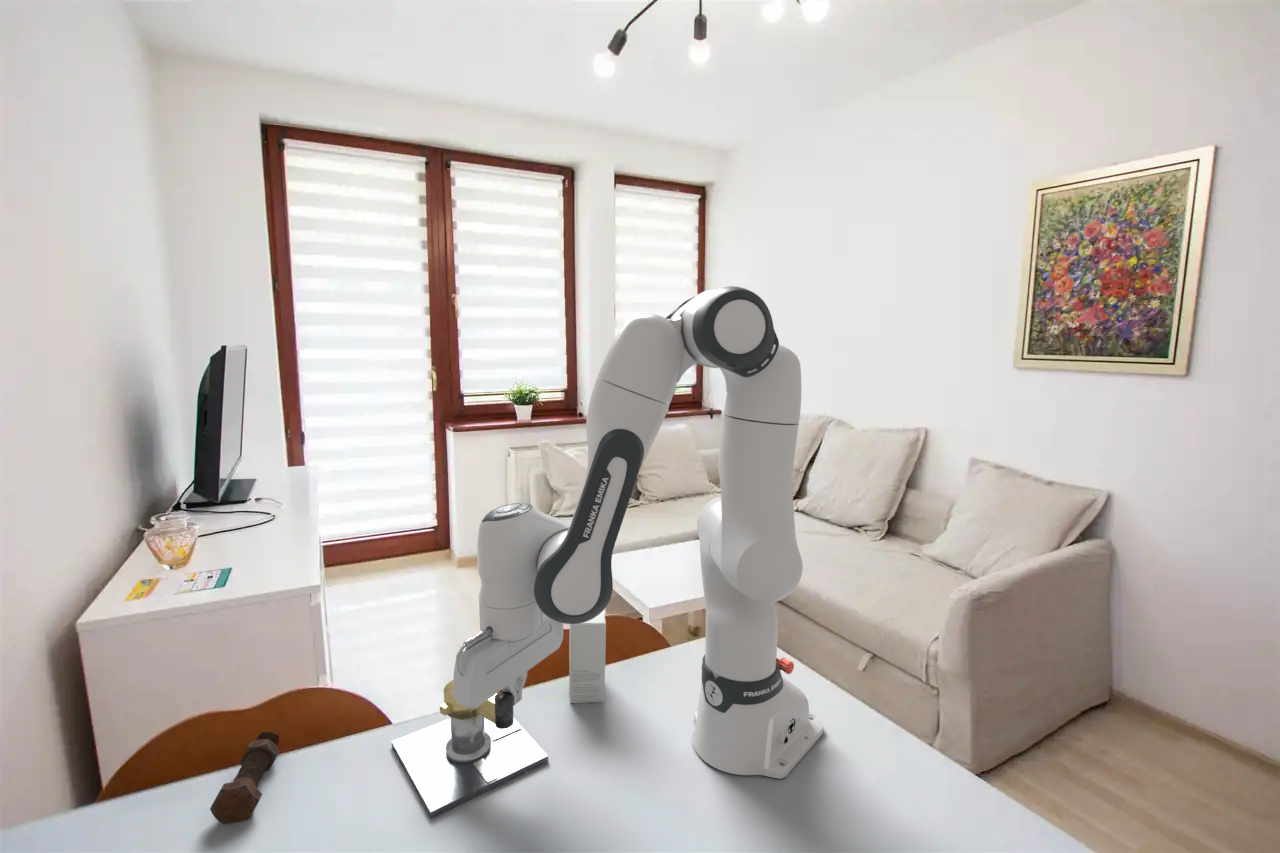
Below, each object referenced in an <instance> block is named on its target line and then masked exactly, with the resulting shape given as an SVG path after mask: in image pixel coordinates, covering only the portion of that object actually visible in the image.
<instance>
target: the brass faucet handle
mask: <svg viewBox="0 0 1280 853" xmlns="http://www.w3.org/2000/svg"><path fill="white" fill-rule="evenodd" d="M439 713H440V714H441V715H443V716H448V717H449V718H450V717H452V718H457V719H465V718H471V717H474V716H477V715H481V716H482V717H484V718H486V719H488V720H489V721H491V722H493V723H495V725H496V727H497V728H499V729H506V728H509V727H511V726H512V725H513V723H514V718H515V717H514V706H513V694H512V693H509V692H506V691H503V690H502V691H499V692H498V693H496V694H495V695H494V696H492V697H491V698H490V699H488V700H487V701H485V702H484V703H483V704H481V705H480V706H479V707H477V708H476V709H470V708H468V707H465V706H463V705H461V704H459V703H457V702H456V701H455V700H454V698H453V680H451V681H450V680H449V682H448V683H447V684H446V685H445V686H444V688H443V703H441V704H440V705H439Z"/></svg>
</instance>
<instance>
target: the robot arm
mask: <svg viewBox="0 0 1280 853" xmlns="http://www.w3.org/2000/svg"><path fill="white" fill-rule="evenodd" d="M611 343H612V344H611V345H610V347H609V349H608V351H607V354H606V355H605V357H604V359H603V362H602V363H601V367H600V368H599V371H598V374H597V377H596V380H595V382H594V385H593V388H592V391H591V394H590V399H589V404H588V408H587V415H586V422H585V429H586V430H585V431H586V442H587V466H586V467H587V469H586V475H585V479H584V483H583V486H582V489H581V492H580V496H579V498H578V501H577V504H576V507H575V510H574V512H573V515H572V518H571V520H565V519H562V518H558V517H555V516H552V515H549V514H547V513H544V512H543V511H541V510H539V509H538V508H536V507H535V506H534V505H533V504H531V503H527V502H515V503H514V502H513V503H508V504H504V505H501V506H498V507H497V508H494V509H492V510H490V511H489V512H488V513H486V515H485V516H484V517H483V518H482V520H481V522H480V524H479V528H478V532H477V533H478V534H477V553H476V554H477V555H476V556H477V560H476V561H477V573H478V575H479V578H480V590H479V593H478V606H479V607H478V609H479V610H478V611H479V630H480V631H479V632H477V633H476V634H475V635H474V636H472V637H469V638H467V639H466V640H464V642H463V644H462V646H461V647H460V648H459V651H458V652H457V653H456V656H455V662H454V670H453V698H454V700H455V701H456V702H457V703H459V704H461V705H463V706H465V707H468V708H470V709H476V708H477V707H479V706H480V705H481V704H483V703H484V702H485V701H487V700H488V699H490V698H491V697H492V696H494V695H495V694H498V693H500V692H503V691H506V692H509V693H512V694H513V707H515V705H517V704H518V703H519V702H521V700H523V689H524V686H525V683H526V680H527V678H528V671H529V670H531V669H532V668H534V667H535V666H537V665H538V664H539V663H541V662H542V661H543V660H545V659H546V658H547V657H549V656H550V655H551V654H553V653H554V652H556V651H558V650H559V648H560V647H561V646H562V643H563V640H564V624H565V625H570V624H578V623H583V622H586V621H589V620H591V619H593V618H595V617H596V616H598V615H599V614H600V613H601V612H602V611H603V610H605V609H606V608H607V606H608V605H609V603H610V601H611V598H612V595H613V590H614V588H613V587H614V585H613V583H614V581H613V570H612V559H613V554H614V553H613V552H614V548H615V545H616V542H617V539H618V535H619V532H620V530H621V527H622V524H623V521H624V518H625V516H626V512H627V508H628V506H629V503H630V499H631V496H632V494H633V491H634V487H635V484H636V482H637V479H638V477H639V474H640V472H641V469H642V468H643V465H644V463H645V461H646V458H647V456H648V454H649V452H650V450H651V447H652V446H653V444H654V441H655V440H656V437H657V436H658V433H659V431H660V430H661V427H662V426H663V425H662V424H663V422H664V420H665V417H666V415H667V413H668V411H669V407H670V405H671V402H672V399H673V396H674V394H675V392H676V391H675V390H676V388H677V384H678V383H679V382H680V380H681V378H682V377H683V375H684V374H685V373H686V372H687V371H688V370H689V369H690V368H692V367H694V366H695V365H696V366H697V365H699V366H703V367H707V368H710V369H711V368H712V369H719V370H720V372H721V373H722V375H723V377H724V379H725V380H724V381H725V388H726V390H725V391H726V397H725V403H724V409H723V417H722V424H721V433H720V442H719V447H718V448H719V450H718V455H717V456H718V458H717V472H718V478H719V484H720V496H717V497H715V498H712V499H711V500H710V501H708V502H707V503H706V504H705V505H704V506H703V507H702V508H701V510H700V511H699V513H698V514H699V515H698V517H697V518H698V519H697V522H696V523H697V524H696V525H697V526H696V527H697V533H698V540H699V550H700V551H699V552H700V553H699V554H700V556H699V557H700V567H701V568H700V570H701V578H702V586H703V587H702V589H703V596H704V606H705V645H704V647H705V648H704V649H705V650H704V653H705V654H704V655H703V657H702V662H701V685H700V692H699V699H698V707H697V709H696V710H695V711H694V717H693V719H694V724H695V726H694V727H695V728H694V731H693V734H692V744H693V745H692V746H693V748H694V750H695V752H696V754H697V755H698V756H699V757H700V758H701V759H702V760H703V761H704V762H705V763H706V764H708V766H709V765H710V766H711V767H713V768H715V769H716V770H719V771H722V772H724V773H727V774H732V775H737V776H765V777H769V778H773V779H784V778H786V777H787V776H788V775H789V773H791V771H792V770H793V769H794V768H795V766H796V765H798V763H799V762H800V761H801V760H802V759H803V757H804V756H805V755H806V754H807V753H808V751H810V749H811V748H812V747H813V746H814V745H815V743H816V742H817V741H818V740H819V739H820V737H821V736H822V735H823V734H824V726H823V724H822V722H821V721H820V719H819V718H818V717H817V716H816V715H815V714H814V713H812V712H811V711H810V706H809V701H808V698H807V696H806V695H805V693H804V692H803V691H802V690H801V689H800V688H799V687H798V686H796V685H795V684H794V683H792V682H791V681H790V680H788V679H786V678H785V677H784V676H782V672H781V671H783V672H784V673H786V674H787V675H790V674H792V673H793V671H794V669H795V663H794V662H793V661H792V660H789V659H787V658H786V657H781V658H778V657H777V652H778V651H777V650H778V647H777V646H778V630H779V618H778V612H777V609H776V607H775V603H776V602H779V601H781V600H783V599H785V598H786V597H788V596H789V595H791V594H792V593H793V592H794V590H796V588H797V587H798V585H799V583H800V582H801V579H802V575H803V568H804V567H803V565H804V564H803V559H802V556H801V553H800V551H799V545H798V542H797V535H796V525H795V524H796V521H795V509H794V508H795V507H794V494H793V492H794V490H793V472H794V464H795V456H796V448H797V441H798V435H799V434H798V432H799V427H800V417H801V411H802V410H801V407H802V370H801V362H800V359H799V357H798V356H797V354H795V352H793V350H791V349H789V348H788V347H787V346H784V345H782V344H780V342H779V338H778V335H777V333H776V330H775V327H774V321H773V317H772V314H771V312H770V309H769V307H768V305H767V304H766V302H765V301H764V300H763V299H762V297H760V296H759V295H758V294H756V293H755V292H753V291H752V290H750V289H747V288H744V287H741V286H723V287H717V288H716V287H715V288H711V289H708V290H707V289H706V290H704V291H702V292H700V293H698V294H697V295H695V296H693V297H691V298H689V299H686V300H685V301H684V302H682V303H681V304H680V305H679V306H678V307H677V308H675V310H673V311H672V312H670V314H668V315H667V316H666V317H665V316H661V315H658V314H653V313H640V314H638V313H637V314H636V315H633V316H631V317H629V318H628V319H627V320H625V322H624V323H623V324H622V326H621V328H620V329H619V331H618V332H617V335H616V336H615V338H614V339H613V342H611Z"/></svg>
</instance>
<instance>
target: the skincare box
mask: <svg viewBox="0 0 1280 853" xmlns="http://www.w3.org/2000/svg"><path fill="white" fill-rule="evenodd" d="M606 635H607V623H606V610H605V609H604V610H603V611H602V612H601V613H600V614H599V615H598V616H596V617H595V618H593V619H591V620H589V621H586V622H583V623H578V624H569V646H568V647H569V650H568V652H569V656H568V658H569V660H568V661H569V662H568V663H569V664H568V666H569V672H568V673H569V704H570V703H577V704H587V703H586V702H594V703H604V702H605V685H606V684H605V680H606V679H605V678H606V649H607V648H606V644H607V642H606V641H607V638H606V637H607V636H606ZM583 702H585V703H583Z"/></svg>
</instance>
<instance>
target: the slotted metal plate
mask: <svg viewBox="0 0 1280 853" xmlns="http://www.w3.org/2000/svg"><path fill="white" fill-rule="evenodd" d="M391 748H392V750H393V752H394V754H395V755H396V758H397V759H398V760H399V763H400V764H401V766H402V768H403V770H404V772H405V773H406V775H407V777H408V779H409V781H410V783H411V785H412V786H413V788H414V791H415V792H416V794H417V796H418V797H419V799H420V801H421V803H422V805H423V806H424V808H425V810H426V812H427V814H428V815H429V816H428V817H430V819H433V818H435V817H437V816H439V815H441V814H444V813H445V812H447V811H449V810H451V809H454V808H456V807H458V806H460V805H462V804H464V803H466V802H469V801H470V800H473V799H475V798H476V797H478V796H481V795H482V794H485V793H487V792H489V791H491V790H493V789H495V788H497V787H499V786H501V785H503V784H505V783H507V782H509V781H508V780H510V779H512V778H514V777H516V778H518V777H520V776H521V774H522V775H524V774H526V773H527V772H526V771H528V772H530V771H532V770H534V769H536V768H538V767H541V766H542V765H544V763H545V764H547V763H548V762H549V755H548V754H547V753H546V752H545V751H544V749H543V748H542V747H541V746H540V745H539V744H538V742H536V740H535V739H534V738H533V737H532V736H531V734H529V733H528V731H527V730H526V729H525V728H524V727H523V726H522V725H521V724H520V723H519V722H518V721H517V719H515V717H514V723H513V725H512V726H511V727H509V728H506V729H499V728H497V727H496V725H495V723H493V722H491V721H489V720H488V719H486V718H484V717H482V716H481V715H477V716H474V717H471V718H465V719H457V718H452V717H450V716H449V718H447V719H444V720H442V721H440V722H437V723H435V724H432V725H430V726H427V727H425V728H422V729H420V730H417V731H415V732H412V733H409V734H407V735H405V736H402V737H399V738H397V739H394V740H391ZM546 762H547V763H546ZM533 768H534V769H533ZM531 769H532V770H531ZM529 770H530V771H529ZM525 772H526V773H525ZM523 773H524V774H523ZM519 775H520V776H519ZM517 776H518V777H517ZM514 779H515V778H514ZM512 780H513V779H512ZM506 781H507V782H506ZM510 781H511V780H510ZM504 782H505V783H504Z"/></svg>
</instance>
